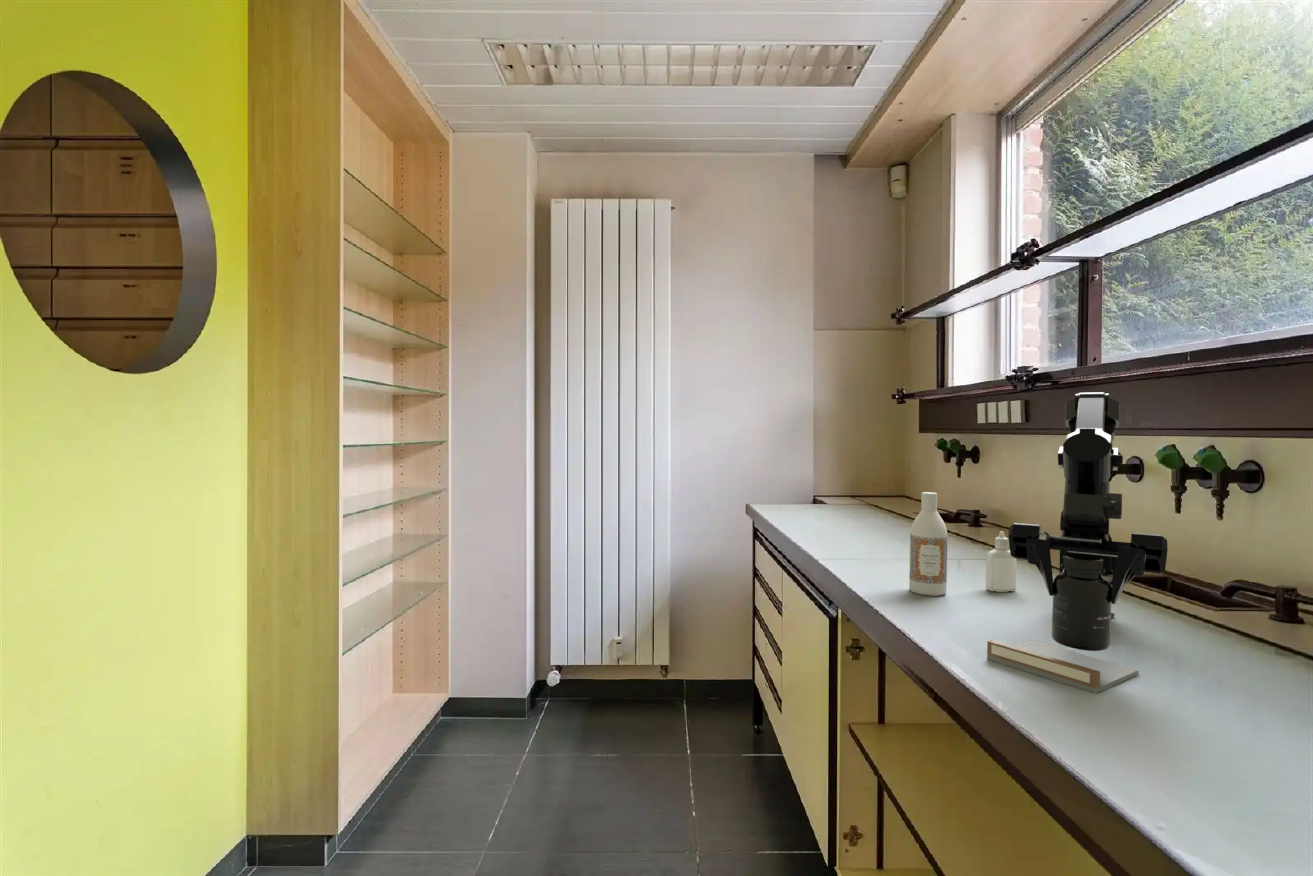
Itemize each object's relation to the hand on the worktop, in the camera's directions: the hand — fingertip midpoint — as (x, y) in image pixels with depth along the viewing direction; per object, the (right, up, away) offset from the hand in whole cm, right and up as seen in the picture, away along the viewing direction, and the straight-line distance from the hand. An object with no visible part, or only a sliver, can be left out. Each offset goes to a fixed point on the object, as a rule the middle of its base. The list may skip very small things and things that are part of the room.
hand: (1081, 598), depth 91 cm
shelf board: (-1, -11, +4) cm, 11 cm away
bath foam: (-3, -10, +44) cm, 45 cm away
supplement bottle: (+1, -7, +1) cm, 7 cm away
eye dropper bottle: (+13, -10, +46) cm, 49 cm away
